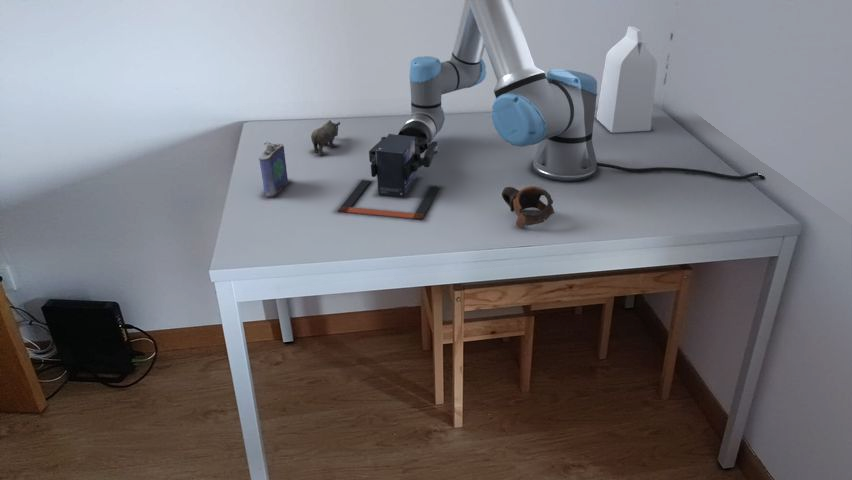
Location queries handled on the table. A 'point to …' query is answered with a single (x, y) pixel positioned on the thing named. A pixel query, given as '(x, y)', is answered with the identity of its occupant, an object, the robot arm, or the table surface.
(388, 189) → the small box
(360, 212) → the bay
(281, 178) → the flask
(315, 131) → the rhino figurine
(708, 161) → the table surface
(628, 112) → the milk
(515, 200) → the pottery mug
